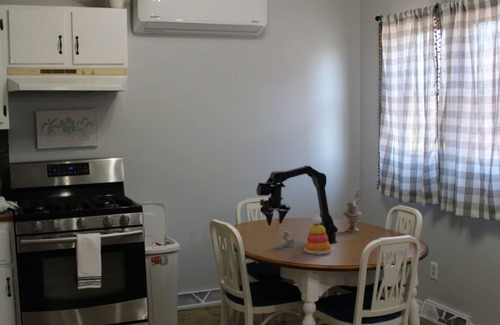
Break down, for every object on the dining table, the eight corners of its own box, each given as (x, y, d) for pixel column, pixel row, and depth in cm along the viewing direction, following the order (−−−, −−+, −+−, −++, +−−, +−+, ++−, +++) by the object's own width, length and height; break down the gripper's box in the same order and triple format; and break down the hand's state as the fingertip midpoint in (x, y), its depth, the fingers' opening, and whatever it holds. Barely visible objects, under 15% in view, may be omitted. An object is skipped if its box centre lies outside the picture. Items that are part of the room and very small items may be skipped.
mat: (310, 244, 300) (310, 244, 300) (285, 250, 286) (285, 250, 286) (296, 241, 307) (296, 241, 307) (271, 247, 294) (271, 247, 294)
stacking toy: (337, 252, 283) (337, 214, 282) (321, 257, 273) (321, 218, 271) (314, 247, 293) (314, 211, 291) (298, 252, 282) (298, 215, 280)
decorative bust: (354, 232, 324) (354, 190, 326) (340, 231, 335) (340, 190, 337) (368, 232, 330) (367, 190, 332) (354, 231, 341) (353, 190, 343)
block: (293, 246, 294) (293, 231, 294) (289, 247, 292) (289, 232, 291) (287, 245, 298) (287, 230, 297) (282, 246, 296) (282, 231, 295)
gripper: (275, 192, 303) (274, 220, 304) (252, 195, 289) (251, 224, 290) (291, 194, 296) (290, 223, 297) (269, 197, 282) (267, 227, 283)
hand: (274, 224), depth 292 cm, fingers open, 9 cm apart
